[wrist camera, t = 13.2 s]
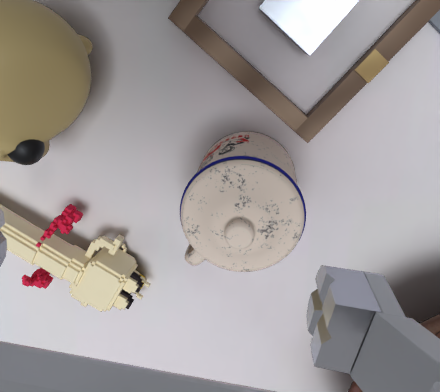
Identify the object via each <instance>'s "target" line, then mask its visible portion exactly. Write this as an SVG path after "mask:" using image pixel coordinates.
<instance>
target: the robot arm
mask: <svg viewBox="0 0 440 392" xmlns="http://www.w3.org/2000/svg"><path fill="white" fill-rule="evenodd" d="M4 225H5V219H4V212H3V211H2V210H1V209H0V229H1V228H2V227H3V226H4ZM6 251H7V239H6V238H5V236H4V235H3V234H2V232H1V231H0V267H1V265H2V263H3V261H4V259H5V257H6ZM316 283H317V288H318V289H316V290H315V291H314V292H312V293H311V296H310V299H309V303H308V309H307V327H308V331H309V332H310V333H311V334H312V336H313V338H312V341H311V344H310V346H311V351H312V357H313V363H314V366H315V367H320V368H324V369H329V370H334V371H339V372H343V373H348V374H351V375H350V376H351V377H352V379H353V380H354V381H355V382H356V384H357V385H358V386H359V388H360V389H361V390H362V391H363V392H440V339H439V338H438V337H437V336H435V335H434V334H433V333H431V332H430V331H429V330H427V329H426V328H425V327H423V326H422V325H421V324H419V323H418V322H417V321H415V320H414V319H412V318H407V317H406V316H405V314H404V312H403V311H402V309H401V307H400V305H399V303H398V301H397V299H396V297H395V295H394V293H393V291H392V289H391V287H390V286H389V284H388V282H387V280H386V278H385V276H383V275H382V274H377V273H370V272H363V271H356V270H350V269H343V268H337V267H330V266H323V265H321V267H320V268H319V270H318V273H317V276H316ZM0 392H275V391H270V390H264V389H259V388H253V387H248V386H242V385H237V384H231V383H226V382H220V381H215V380H210V379H204V378H199V377H193V376H188V375H182V374H177V373H171V372H166V371H160V370H155V369H150V368H144V367H139V366H133V365H128V364H122V363H117V362H111V361H106V360H100V359H95V358H90V357H84V356H79V355H73V354H68V353H62V352H57V351H52V350H46V349H41V348H35V347H30V346H24V345H19V344H13V343H8V342H3V341H0Z"/></svg>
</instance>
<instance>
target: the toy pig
mask: <svg viewBox="0 0 440 392" xmlns="http://www.w3.org/2000/svg"><path fill="white" fill-rule="evenodd" d="M91 52H92V43H91V41H90V40H89V39H88V38H86V37H84V36H82V35H79V34H77V33H76V32H75V31H74V29H73V28H72V27H71V26H70V25H69V24H68V23H67V22H66V21H65V20H64V19H63V18H62V17H60V16H59V15H58V14H57V13H55V12H54V11H52V10H51V9H49V8H48V7H46V6H44V5H42V4H40V3H38V2H35V1H33V0H0V161H10V162H16V163H18V164H22V165H31V164H34V163H36V162H38V161H39V160H40V159H41V158H42V157H43V156H45V155H46V154H47V152H48V150H49V140H51V139H52V138H53V137H55V136H56V135H58V134H59V133H61V132H62V131H64V130H65V129H66V128H68V127H69V126H70V125H71V124H72V123H73V122H74V121H75V120H76V118H77V117H78V116H79V114H80V113H81V111H82V110H83V108H84V106H85V104H86V101H87V98H88V95H89V92H90V86H91V67H90V62H89V58H88V55H89V54H90V53H91Z"/></svg>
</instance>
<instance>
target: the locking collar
mask: <svg viewBox="0 0 440 392" xmlns="http://www.w3.org/2000/svg"><path fill="white" fill-rule="evenodd" d="M208 1H209V0H180V2H179V3H178V5H177V6H176V7H175V9H174V10H173V12H172V13H171V15H170V16H169V17H168V19H170V20H171V21H172V22H173V23H174V24H175V25H176V26H177V27H179V28H180V29H181V30H182V31H183V32H184V33H185V34H186V35H187V36H189V37H190V38H191V39H192V40H193V41H194V42H195V43H196V44H198V45H199V46H200V47H201V48H202V49H203V50H204V51H205V52H206V53H208V54H209V55H210V56H211V57H212V58H213V59H214V60H215V61H217V62H218V63H219V64H220V65H221V66H222V67H223V68H224V69H225V70H227V71H228V72H229V73H230V74H231V75H232V76H233V77H234V78H236V79H237V80H238V81H239V82H240V83H241V84H242V85H243V86H244V87H246V88H247V89H248V90H249V91H250V92H251V93H252V94H253V95H254V96H256V97H257V98H258V99H259V100H260V101H261V102H262V103H263V104H265V105H266V106H267V107H268V108H269V109H270V110H271V111H272V112H273V113H275V114H276V115H277V116H278V117H279V118H280V119H281V120H282V121H284V122H285V123H286V124H287V125H288V126H289V127H290V128H291V129H292V130H294V131H295V132H296V133H297V134H298V135H299V136H300V137H301V138H303V139H304V140H305V141H306V142H307V143H308V142H309V141H310V140H311V139H312V138H313V137H314V136H315V135H316V134H317V133H318V132H319V131H320V130H321V129H322V128H323V127H324V126H325V125H326V124H327V123H328V122H329V121H330V120H331V119H332V118H333V117H334V116H335V115H336V114H337V113H338V112H339V111H340V110H341V109H342V108H343V107H344V106H345V105H346V104H347V103H348V102H349V101H350V100H351V99H352V98H353V97H354V96H355V95H356V94H357V93H358V92H359V91H360V90H361V89H362V88H363V87H364V86H365V85H366V84H367V83H369V82H370V81H371V80H372V79H373V78H374V77H375V76H376V75H377V74H378V73H379V72H380V71H381V70H382V69H383V68H384V67H385V66H386V65H387V64H388V63H389V62H388V61H389V60H390V59H391V58H392V57H393V56H394V55H395V54H396V53H397V52H398V51H399V50H400V49H401V48H402V47H403V46H404V45H405V44H406V43H407V42H408V41H409V40H410V39H411V38H412V37H413V36H414V35H415V34H416V33H417V32H418V31H419V30H420V29H421V28H422V27H423V26H424V25H425V24H426V23H427V22H428V21H429V20H430V19H431V18H432V17H433V16H434V15H435V14H436V13H437V12H438V11H439V10H440V0H416V1H415V2H414V3H413V4H412V5H411V6H410V7H409V8H408V9H407V10H406V11H405V12H404V13H403V14H402V15H401V16H400V17H399V18H398V20H397V21H396V22H395V23H394V24H393V25H392V26H391V27H390V28H389V29H388V30H387V31H386V32H385V33H384V34H383V35H382V36H381V37H380V38H379V39H378V40H377V42H376V43H375V44H374V45H373V46H372V47H371V48H370V49H369V50H368V51H367V52H366V53H365V54H364V55H363V56H362V57H361V58H360V59H359V60H358V61H357V63H356V64H355V65H354V66H353V67H352V68H351V69H350V70H349V71H348V72H347V73H346V74H345V75H344V76H343V77H342V78H341V79H340V80H339V81H338V82H337V84H336V85H335V86H334V87H333V88H332V89H331V90H330V91H329V92H328V93H327V94H326V95H325V96H324V97H323V98H322V99H321V100H320V101H319V102H318V103H317V104H316V106H315V107H314V108H313V109H312V110H311V111H310V112H309V113H308V114H307V115H306V114H304V113H303V112H302V111H301V110H300V109H299V108H298V107H297V106H296V105H295V104H294V103H292V102H291V101H290V100H289V99H288V98H287V97H286V96H285V95H284V94H283V93H281V92H280V91H279V90H278V89H277V88H276V87H275V86H274V85H273V84H272V83H270V82H269V81H268V80H267V79H266V78H265V77H264V76H263V75H262V74H261V73H259V72H258V71H257V70H256V69H255V68H254V67H253V66H252V65H251V64H250V63H249V62H247V61H246V60H245V59H244V58H243V57H242V56H241V55H240V54H239V53H238V52H236V51H235V50H234V49H233V48H232V47H231V46H230V45H229V44H228V43H227V42H225V41H224V40H223V39H222V38H221V37H220V36H219V35H218V34H217V33H216V32H215V31H213V30H212V29H211V28H210V27H209V26H208V25H207V24H206V23H205V22H204V21H202V20H201V19H200V18H199V17H198V14H199V13H200V12H201V10H202V9H203V7H204V6H205V5H206V3H207V2H208Z"/></svg>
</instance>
